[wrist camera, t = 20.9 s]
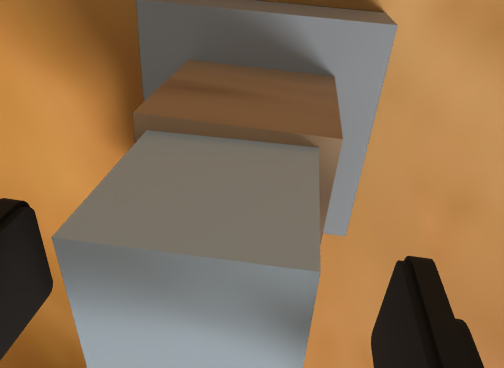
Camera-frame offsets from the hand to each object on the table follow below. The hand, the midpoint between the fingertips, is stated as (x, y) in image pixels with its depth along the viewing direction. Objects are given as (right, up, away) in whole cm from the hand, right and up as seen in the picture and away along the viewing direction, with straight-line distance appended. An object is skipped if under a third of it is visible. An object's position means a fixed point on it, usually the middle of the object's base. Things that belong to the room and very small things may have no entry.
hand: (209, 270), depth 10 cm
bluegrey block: (0, +1, +2) cm, 3 cm away
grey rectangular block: (+2, +6, +10) cm, 12 cm away
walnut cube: (+1, +4, +8) cm, 9 cm away
